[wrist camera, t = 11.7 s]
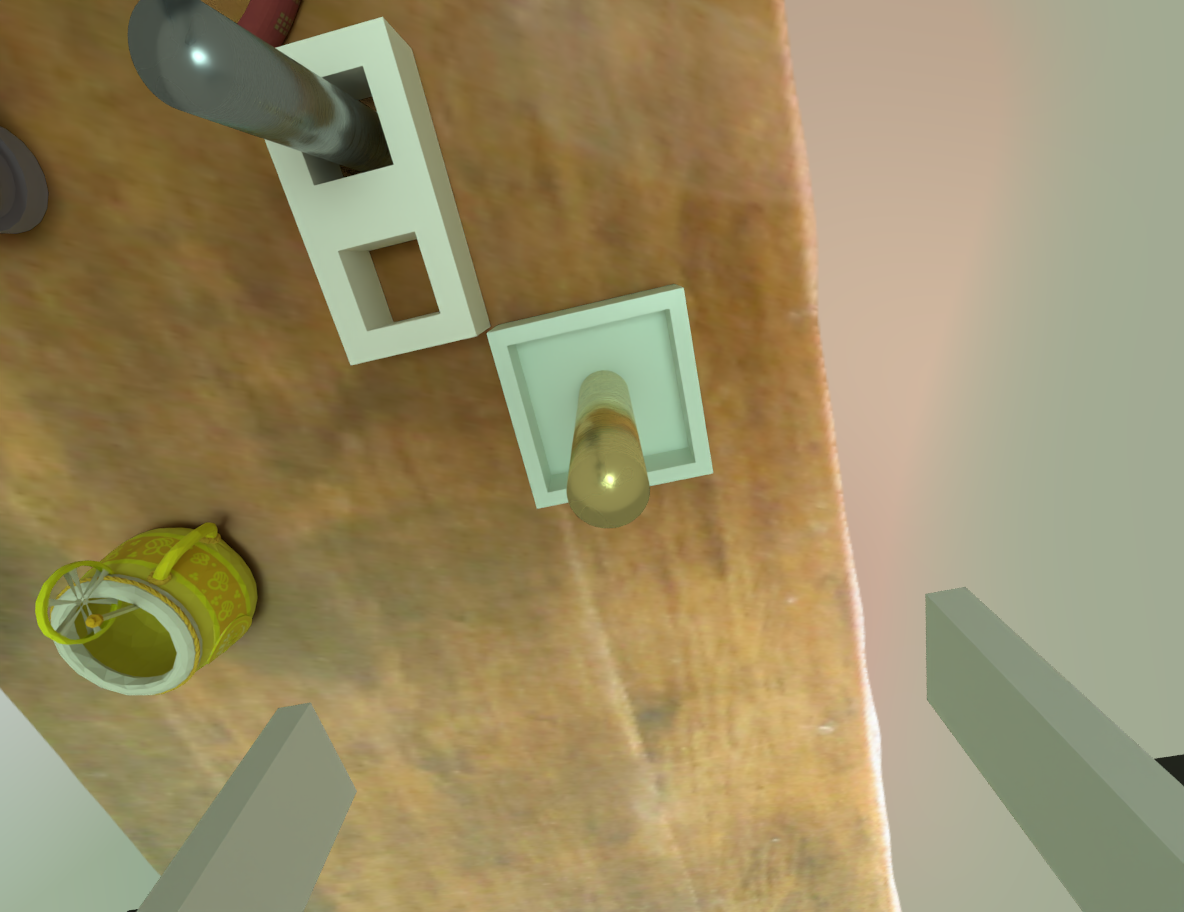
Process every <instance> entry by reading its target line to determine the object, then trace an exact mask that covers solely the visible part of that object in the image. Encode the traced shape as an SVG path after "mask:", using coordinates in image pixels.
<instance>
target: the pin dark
mask: <svg viewBox="0 0 1184 912" xmlns="http://www.w3.org/2000/svg"><path fill="white" fill-rule="evenodd" d="M128 44H129V50H130V54H131V58H132V61H133V63H134V66H135V68H136V70H137V72H138V74H139V76H140V77H141V79H142V81H143V82H144V83H145V85H146V86H147V87H148V88H149V89H150V91H151V92H152V93H153V94H154V95H156V96H157V97H158V98H159V99H160V100H162V101H163V102H164V103H166V104H168V105H169V106H171V107H173V108H176V109H178V110H181V111H184V112H187V113H190V114H193V115H196V116H199V117H202V118H204V119H207V120H210V121H213V122H216V123H219V124H222V125H225V126H228V127H231V128H234V129H237V130H240V131H243V132H246V133H248V134H251V135H254V136H257V137H260V138H263V139H266V140H269V141H272V142H275V143H278V144H281V145H284V146H287V147H289V148H292V149H295V150H298V151H301V152H304V153H307V154H310V155H313V156H316V157H319V158H322V159H325V160H328V161H330V162H333V163H336V164H339V165H342V166H345V167H348V168H351V169H354V170H357V171H360V172H363V173H364V172H368V171H372V170H376V169H379V168H383V167H387V166H391V165H394V164H393V161H392V157H391V154H390V151H389V148H388V145H387V141H386V138H385V135H384V132H383V129H382V125H381V122H380V119H379V116H378V113H377V112H375V111H374V110H372V109H371V108H369V107H367V106H366V105H364V104H363V103H361V102H359V101H358V100H356V99H355V98H353V97H352V96H350V95H348V94H347V93H345V92H344V91H342V90H341V89H339V88H337V87H336V86H334V85H333V84H331V83H330V82H328V81H326V80H325V79H323V78H322V77H320V76H318V75H317V74H315V73H314V72H312V71H311V70H309V69H307V68H306V67H304V66H303V65H301V64H300V63H298V62H296V61H295V60H293V59H292V58H290V57H289V56H287V55H285V54H284V53H282V52H281V51H279V50H278V49H276V48H274V47H273V46H271V45H270V44H268V43H266V42H265V41H263V40H262V39H260V38H259V37H257V36H255V35H254V34H252V33H251V32H249V31H248V30H246V29H244V28H243V27H241V26H240V25H238V24H237V23H235V22H233V21H232V20H230V19H229V18H227V17H225V16H224V15H222V14H221V13H219V12H218V11H216V10H214V9H213V8H211V7H210V6H208V5H207V4H205V3H203V2H202V1H200V0H140V1H139V2H138V4H137V5H136V6H135V8H134V10H133V12H132V14H131V17H130V21H129V26H128Z"/></svg>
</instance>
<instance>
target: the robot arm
mask: <svg viewBox="0 0 1184 912" xmlns="http://www.w3.org/2000/svg"><path fill="white" fill-rule="evenodd" d="M926 665H927V666H926V668H927V700H928V702H929V703H930V704H931V705H932V707H933V708H934V710H935V711H936V712H937V714H938V715H939V716H940V718H941V719H942V721H943V722H944V723H945V725H946V726H947V728H948V729H949V730H950V732H951V733H952V734H953V736H954V737H955V738H956V740H957V741H958V742H959V744H960V745H961V746H962V748H963V749H964V751H965V752H966V753H967V755H968V756H969V757H970V759H971V760H972V762H973V763H974V764H975V766H976V767H977V768H978V770H979V771H980V772H981V774H982V775H983V777H984V778H985V779H986V780H987V782H988V783H989V784H990V786H991V787H992V789H993V790H994V791H995V793H996V794H997V796H998V797H999V798H1000V800H1001V801H1002V802H1003V804H1004V805H1005V806H1006V808H1007V809H1008V810H1009V812H1010V813H1011V815H1012V816H1013V817H1014V819H1015V820H1016V821H1017V823H1018V824H1019V825H1020V827H1021V828H1022V830H1023V831H1024V832H1025V834H1026V835H1027V836H1028V838H1029V839H1030V840H1031V842H1032V843H1033V844H1034V846H1035V847H1036V849H1037V850H1038V851H1039V853H1040V854H1041V855H1042V857H1043V858H1044V859H1045V861H1046V862H1047V864H1048V865H1049V866H1050V868H1051V869H1052V870H1053V872H1054V873H1055V874H1056V876H1057V877H1058V879H1059V880H1060V881H1061V883H1062V884H1063V885H1064V887H1065V888H1066V889H1067V891H1068V892H1069V894H1070V895H1071V896H1072V898H1073V899H1074V900H1075V902H1076V903H1077V904H1078V906H1079V907H1080V908H1081V910H1082V911H1083V912H1184V755H1177V756H1171V757H1164V758H1157V759H1153V758H1152V757H1151V756H1150V755H1149V754H1148V753H1147V752H1146V751H1144V750H1143V749H1142V748H1141V747H1140V746H1139V745H1138V744H1137V743H1136V742H1135V741H1134V740H1132V739H1131V738H1130V737H1129V736H1128V735H1127V734H1126V733H1125V732H1124V731H1122V730H1121V729H1120V728H1119V727H1118V726H1117V725H1116V724H1115V723H1114V722H1113V721H1112V720H1111V719H1109V718H1108V717H1107V716H1106V715H1105V714H1104V713H1103V712H1102V711H1101V710H1100V709H1099V708H1097V707H1096V706H1095V705H1094V704H1093V703H1092V702H1091V701H1090V700H1089V699H1088V698H1086V697H1085V696H1084V695H1083V694H1082V693H1081V692H1080V691H1079V690H1078V689H1077V688H1075V687H1074V686H1073V685H1072V684H1071V683H1070V682H1069V681H1068V680H1067V679H1066V678H1065V677H1063V676H1062V675H1061V674H1060V673H1059V672H1058V671H1057V670H1056V669H1055V668H1053V667H1052V666H1051V665H1050V664H1049V663H1048V662H1047V661H1046V660H1045V659H1044V658H1042V656H1040V655H1039V654H1038V653H1037V652H1036V651H1035V650H1034V649H1033V648H1032V647H1031V646H1029V645H1028V644H1027V643H1026V642H1025V641H1024V640H1023V639H1022V638H1021V637H1020V636H1019V635H1017V634H1016V633H1015V632H1014V631H1013V630H1012V629H1011V628H1010V627H1009V626H1008V625H1006V624H1005V623H1004V622H1003V621H1002V620H1001V619H1000V618H999V617H998V616H997V615H996V614H994V613H993V612H992V611H991V610H990V609H989V608H988V607H987V606H986V605H985V604H983V603H982V602H981V601H980V600H979V599H978V598H977V597H976V596H975V595H974V594H973V593H971V592H970V591H969V590H968V589H967V588H966V587H962V588H957V589H951V590H945V591H940V592H934V593H928V594H926ZM356 792H357V790H356V788H355V787H354V785H353V783H352V781H351V779H350V777H349V775H348V773H347V771H346V769H345V767H344V766H343V764H342V762H341V760H340V758H339V756H338V754H337V752H336V750H335V748H334V746H333V745H332V743H331V741H330V739H329V737H328V735H327V733H326V731H325V729H324V727H323V725H322V723H321V722H320V720H319V718H318V716H317V714H316V712H315V710H314V708H313V706H312V704H311V703H305V704H300V705H294V706H288V707H283V708H278V709H277V711H276V712H275V714H274V715H273V717H272V718H271V719H270V721H269V722H268V724H267V725H266V727H265V728H264V729H263V731H262V732H261V734H260V735H259V737H258V738H257V739H256V741H255V742H254V744H253V745H252V747H251V748H250V750H249V751H248V752H247V754H246V755H245V757H244V758H243V760H242V761H241V762H240V764H239V765H238V767H237V768H236V770H235V771H234V772H233V774H232V775H231V777H230V778H229V780H228V781H227V782H226V784H225V785H224V787H223V788H222V790H221V791H220V793H219V794H218V795H217V797H216V798H215V800H214V801H213V803H212V804H211V805H210V807H209V808H208V810H207V811H206V813H205V814H204V815H203V817H202V818H201V820H200V821H199V823H198V824H197V826H196V827H195V828H194V830H193V831H192V833H191V834H190V836H189V837H188V838H187V840H186V841H185V843H184V844H183V846H182V847H181V848H180V850H179V851H178V853H177V854H176V856H175V857H174V859H173V860H172V861H171V863H170V864H169V866H168V867H167V869H166V870H165V871H164V873H163V874H162V876H161V877H160V879H159V880H158V881H157V883H156V885H155V886H154V887H153V889H152V890H151V892H150V893H149V894H148V896H147V897H146V899H145V900H144V902H143V903H142V904H141V906H140V907H139V909H136V910H129V911H127V912H303V911H304V909H305V906H306V904H307V902H308V900H309V897H310V895H311V893H312V891H313V888H314V886H315V884H316V882H317V879H318V877H319V875H320V873H321V870H322V868H323V866H324V864H325V861H326V859H327V857H328V855H329V852H330V850H331V848H332V846H333V843H334V841H335V839H336V837H337V834H338V832H339V830H340V828H341V825H342V823H343V821H344V819H345V816H346V814H347V812H348V810H349V807H350V805H351V803H352V801H353V798H354V796H355V794H356Z"/></svg>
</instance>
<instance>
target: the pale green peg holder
mask: <svg viewBox="0 0 1184 912" xmlns="http://www.w3.org/2000/svg"><path fill="white" fill-rule="evenodd" d="M276 49H278V50H279V51H281V52H282V53H284V54H285V55H287V56H289V57H290V58H292V59H293V60H295V61H296V62H298V63H300V64H301V65H303V66H304V67H306V68H307V69H309V70H311V71H312V72H314V73H315V74H317V75H318V76H320V77H322V78H323V79H325V80H326V81H328V82H330V83H331V84H333V85H334V86H336V87H337V88H339V89H341V90H342V91H344V92H345V93H347V94H348V95H350V96H352V97H353V98H355V99H356V100H361V99H364V98H368V97H371V96H372V97H373V100H374V103H375V106H376V109H377V113H378V116H379V119H380V122H381V125H382V129H383V132H384V135H385V138H386V141H387V145H388V148H389V151H390V154H391V157H392V161H393V164H394V165H391V166H387V167H383V168H379V169H376V170H372V171H368V172H364V173H360V174H357V175H353V176H349V177H345V178H344V177H343V174H342V171H341V168H340V165H339V164H336V163H333V162H330V161H328V160H325V159H322V158H319V157H316V156H313V155H310V154H307V153H304V152H301V151H298V150H295V149H292V148H289V147H287V146H284V145H281V144H278V143H275V142H272V141H269V140H266V139H265V142H266V144H267V147H268V150H269V152H270V155H271V158H272V160H273V163H274V165H275V168H276V171H277V173H278V176H279V179H280V181H281V184H282V186H283V189H284V192H285V194H286V197H287V200H288V202H289V205H290V207H291V210H292V213H293V215H294V218H295V221H296V223H297V226H298V228H299V231H300V234H301V236H302V239H303V241H304V244H305V247H306V249H307V252H308V255H309V257H310V260H311V262H312V265H313V268H314V270H315V273H316V276H317V278H318V281H319V283H320V286H321V289H322V291H323V294H324V297H325V299H326V302H327V304H328V307H329V310H330V312H331V315H332V318H333V320H334V323H335V325H336V328H337V331H338V333H339V336H340V339H341V341H342V344H343V346H344V349H345V352H346V354H347V357H348V360H349V362H350V365H355V364H359V363H363V362H368V361H372V360H376V359H381V358H385V357H389V356H394V355H398V354H402V353H407V352H411V351H415V350H419V349H424V348H428V347H432V346H437V345H441V344H445V343H450V342H454V341H458V340H463V339H467V338H471V337H476V336H478V335H479V334H481V333H482V332H484V331H485V330H487V329H488V328H489V327H491V326H490V322H489V319H488V315H487V312H486V308H485V305H484V301H483V298H482V294H481V291H480V287H479V284H478V280H477V277H476V273H475V270H474V266H473V263H472V259H471V256H470V252H469V249H468V245H467V242H466V238H465V235H464V231H463V228H462V224H461V220H460V217H459V213H458V210H457V206H456V203H455V199H454V196H453V192H452V189H451V185H450V182H449V178H448V175H447V171H446V168H445V164H444V161H443V157H442V154H441V150H440V147H439V143H438V140H437V136H436V133H435V129H434V126H433V122H432V119H431V115H430V112H429V108H428V105H427V101H426V98H425V94H424V90H423V87H422V83H421V80H420V76H419V73H418V69H417V66H416V62H415V59H414V55H413V52H412V49H411V47H410V46H409V45H408V44H407V43H406V42H405V41H404V40H403V39H402V38H401V37H400V35H399V34H398V33H397V32H396V31H395V30H394V29H393V28H392V27H391V26H390V24H389V23H388V22H387V21H386V20H385V19H384V18H383V17H380V18H377V19H373V20H370V21H366V22H363V23H359V24H356V25H353V26H349V27H346V28H342V29H339V30H335V31H332V32H328V33H325V34H321V35H318V36H314V37H311V38H308V39H304V40H301V41H297V42H294V43H290V44H287V45H283V46H280V47H276ZM415 239H417V240H418V243H419V247H420V250H421V253H422V256H423V259H424V263H425V266H426V269H427V272H428V275H429V279H430V282H431V285H432V288H433V291H434V295H435V298H436V301H437V304H438V307H439V310H440V311H439V312H435V313H431V314H427V315H423V316H418V317H414V318H410V319H406V320H402V321H397V322H393V319H392V316H391V313H390V311H389V308H388V305H387V302H386V299H385V296H384V293H383V290H382V287H381V284H380V282H379V279H378V276H377V273H376V270H375V267H374V264H373V261H372V258H371V255H370V253H369V251H371V250H375V249H379V248H383V247H387V246H391V245H395V244H399V243H403V242H407V241H411V240H415Z"/></svg>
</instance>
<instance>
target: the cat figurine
mask: <svg viewBox="0 0 1184 912" xmlns="http://www.w3.org/2000/svg"><path fill="white" fill-rule="evenodd" d="M47 203H48V189H47V185H46V180H45V176H44V174H43V172H42V170H41V168H40V166H39V164H38V162H37V160H36V158H35V156H34V155H33V154H32V153H31V152H30V150H29V149H28V148H27V147H26V145H25V144H24V143H23V142H22V141H21V140H20V139H18V138H17V137H16V136H14V135H13V134H12V133H11V132H9V131H8V130H7V129H5V128H2V127H0V233H10V234H17V233H21V232H25V231H29V230H31V229H32V228H33V227H35V226H36V225H37V224H39V223H40V222H41V220H42V218H43V216H44V214H45V212H46V210H47Z"/></svg>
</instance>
